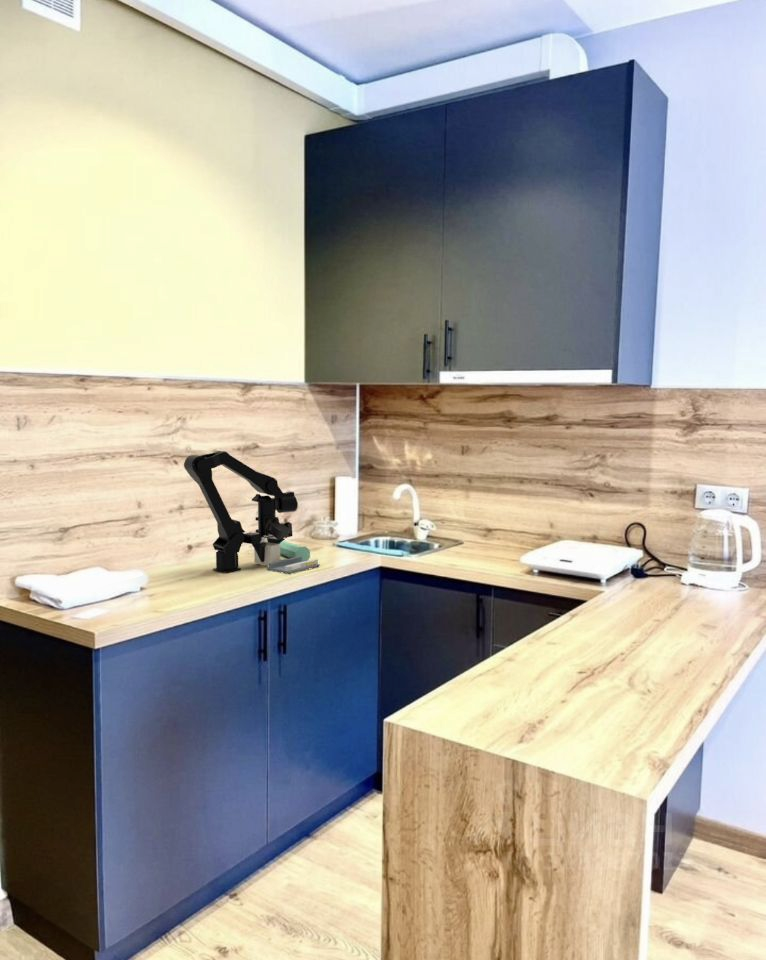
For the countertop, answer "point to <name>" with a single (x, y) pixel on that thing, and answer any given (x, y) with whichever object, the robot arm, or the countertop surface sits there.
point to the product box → (269, 554)
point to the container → (294, 550)
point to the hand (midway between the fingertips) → (267, 560)
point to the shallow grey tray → (292, 565)
